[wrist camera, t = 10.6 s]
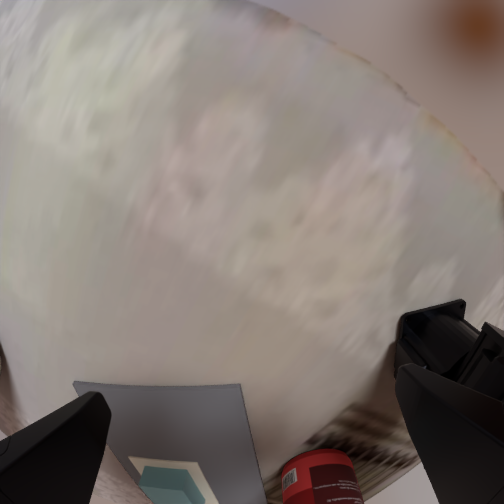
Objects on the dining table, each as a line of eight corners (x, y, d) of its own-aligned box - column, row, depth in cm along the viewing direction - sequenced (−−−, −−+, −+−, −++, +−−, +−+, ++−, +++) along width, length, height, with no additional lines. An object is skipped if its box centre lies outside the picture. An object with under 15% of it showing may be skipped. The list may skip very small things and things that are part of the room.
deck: (205, 499, 25) (202, 518, 23) (167, 496, 26) (163, 514, 23) (187, 469, 24) (182, 490, 21) (144, 465, 24) (138, 485, 21)
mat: (240, 383, 21) (239, 389, 20) (267, 501, 26) (267, 505, 26) (74, 381, 22) (71, 385, 21) (149, 496, 27) (148, 499, 26)
